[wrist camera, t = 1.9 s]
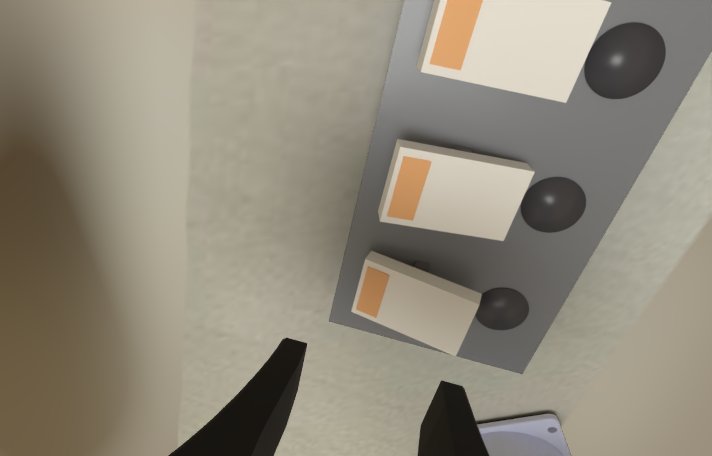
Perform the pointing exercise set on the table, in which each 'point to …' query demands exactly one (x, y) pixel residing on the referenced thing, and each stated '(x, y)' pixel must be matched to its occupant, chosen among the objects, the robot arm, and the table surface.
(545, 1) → the rocker
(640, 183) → the table surface
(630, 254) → the table surface
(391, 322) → the white rectangular block
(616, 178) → the power strip
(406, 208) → the rocker
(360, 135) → the table surface
